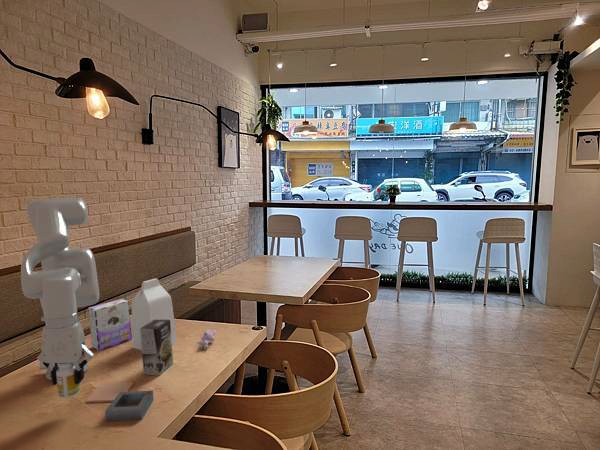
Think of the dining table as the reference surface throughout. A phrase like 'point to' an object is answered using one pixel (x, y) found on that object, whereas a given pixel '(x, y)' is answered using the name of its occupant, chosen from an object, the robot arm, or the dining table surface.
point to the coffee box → (156, 347)
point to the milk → (151, 309)
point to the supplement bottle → (66, 380)
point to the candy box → (110, 324)
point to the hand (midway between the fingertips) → (68, 381)
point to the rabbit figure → (206, 340)
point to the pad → (108, 392)
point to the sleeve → (129, 413)
